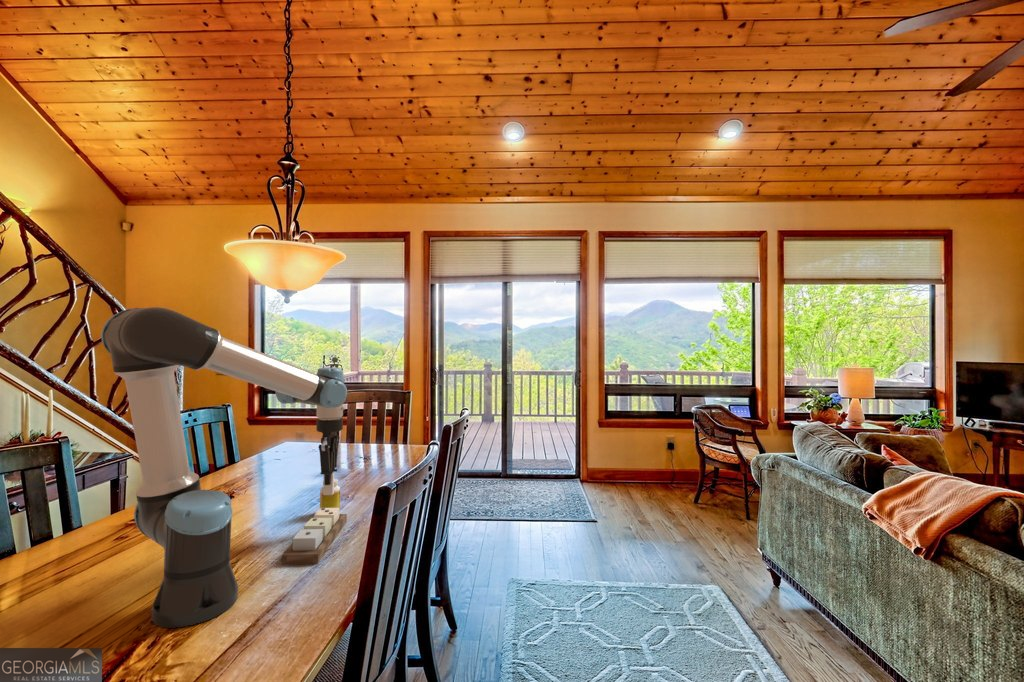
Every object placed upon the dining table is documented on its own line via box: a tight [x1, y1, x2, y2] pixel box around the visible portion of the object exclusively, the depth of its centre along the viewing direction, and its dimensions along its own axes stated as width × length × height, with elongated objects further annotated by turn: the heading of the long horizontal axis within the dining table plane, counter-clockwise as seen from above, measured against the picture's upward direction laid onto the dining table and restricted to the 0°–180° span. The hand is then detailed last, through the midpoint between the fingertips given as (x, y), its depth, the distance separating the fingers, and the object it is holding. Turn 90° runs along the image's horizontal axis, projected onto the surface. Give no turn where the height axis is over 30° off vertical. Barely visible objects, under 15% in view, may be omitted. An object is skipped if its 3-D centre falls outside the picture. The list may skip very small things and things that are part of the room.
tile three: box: [313, 507, 341, 525], centre depth 135 cm, size 6×6×3 cm
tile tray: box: [281, 513, 348, 565], centre depth 127 cm, size 27×9×2 cm, turn 6°
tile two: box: [303, 517, 332, 537], centre depth 127 cm, size 6×6×3 cm
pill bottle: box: [319, 478, 341, 509], centre depth 148 cm, size 6×6×11 cm
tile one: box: [292, 528, 323, 551], centre depth 119 cm, size 6×6×3 cm
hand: (328, 494), depth 136 cm, fingers closed
